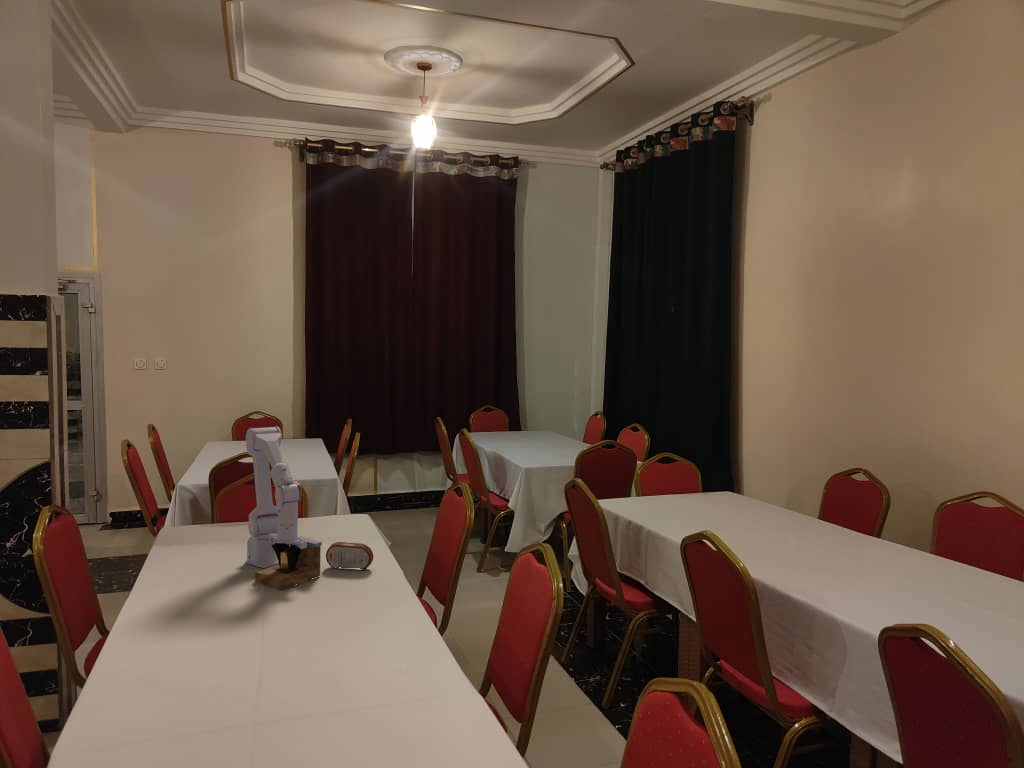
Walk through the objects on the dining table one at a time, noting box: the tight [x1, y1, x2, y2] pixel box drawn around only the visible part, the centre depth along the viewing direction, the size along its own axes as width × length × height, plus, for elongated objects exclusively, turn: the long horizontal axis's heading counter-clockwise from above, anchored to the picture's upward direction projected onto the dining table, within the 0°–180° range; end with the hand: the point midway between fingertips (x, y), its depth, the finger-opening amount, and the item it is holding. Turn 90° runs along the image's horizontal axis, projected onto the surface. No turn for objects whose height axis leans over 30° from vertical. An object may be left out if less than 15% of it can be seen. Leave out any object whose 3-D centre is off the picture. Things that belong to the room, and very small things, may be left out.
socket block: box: [254, 535, 323, 591], centre depth 214 cm, size 13×15×11 cm
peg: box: [281, 549, 293, 574], centre depth 214 cm, size 4×4×7 cm
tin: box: [325, 541, 374, 570], centre depth 225 cm, size 15×3×8 cm, turn 84°
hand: (287, 567), depth 214 cm, fingers closed on peg, 3 cm apart
